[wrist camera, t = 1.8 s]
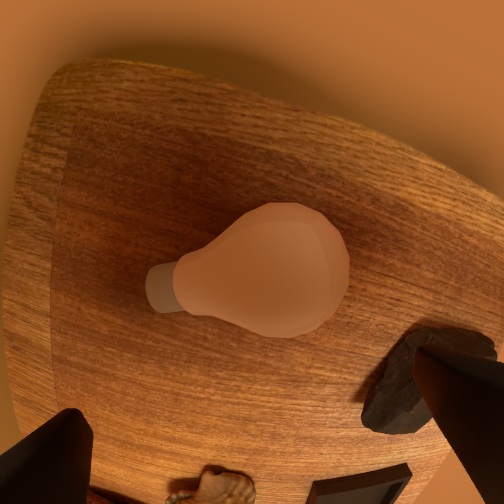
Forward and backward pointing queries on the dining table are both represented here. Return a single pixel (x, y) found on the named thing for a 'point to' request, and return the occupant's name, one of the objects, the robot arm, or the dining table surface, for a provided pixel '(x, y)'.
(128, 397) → the dining table surface
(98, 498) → the basket
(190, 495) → the seashell
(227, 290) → the light bulb
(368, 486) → the tray
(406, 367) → the rock
